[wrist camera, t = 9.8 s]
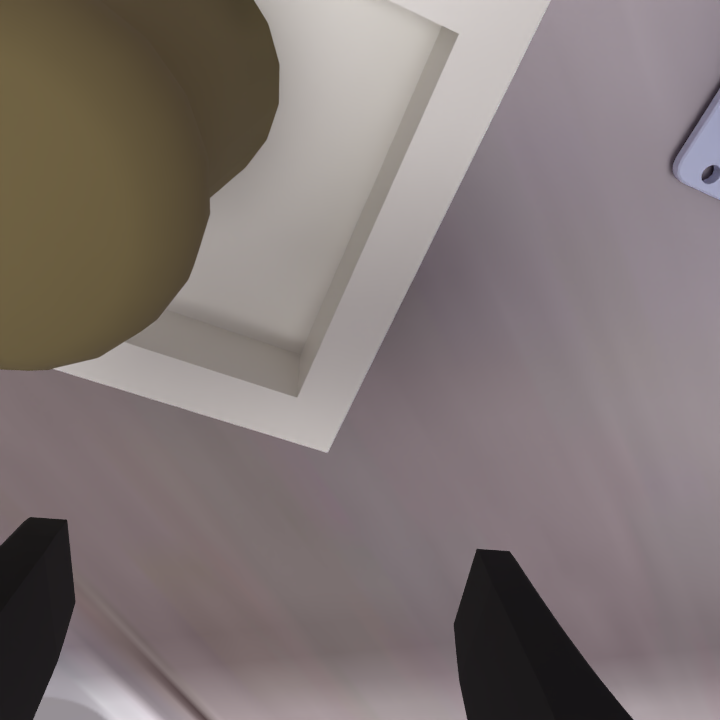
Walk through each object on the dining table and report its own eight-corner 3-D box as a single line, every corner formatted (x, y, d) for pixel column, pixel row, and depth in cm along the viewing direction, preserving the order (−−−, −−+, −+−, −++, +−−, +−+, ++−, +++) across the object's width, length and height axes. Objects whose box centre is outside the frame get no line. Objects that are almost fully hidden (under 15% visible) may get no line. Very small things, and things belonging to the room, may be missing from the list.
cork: (-5, -55, 16) (-521, -70, 6) (260, -80, 16) (154, -135, 6) (73, 204, 19) (-190, 461, 9) (295, 184, 19) (260, 421, 9)
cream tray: (520, -15, 17) (555, -9, 14) (327, 396, 23) (327, 453, 20) (-142, -349, 14) (-252, -421, 11) (-168, 235, 19) (-244, 278, 17)
